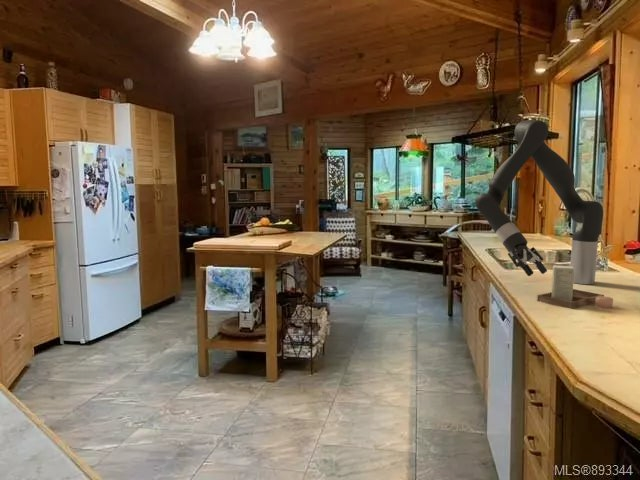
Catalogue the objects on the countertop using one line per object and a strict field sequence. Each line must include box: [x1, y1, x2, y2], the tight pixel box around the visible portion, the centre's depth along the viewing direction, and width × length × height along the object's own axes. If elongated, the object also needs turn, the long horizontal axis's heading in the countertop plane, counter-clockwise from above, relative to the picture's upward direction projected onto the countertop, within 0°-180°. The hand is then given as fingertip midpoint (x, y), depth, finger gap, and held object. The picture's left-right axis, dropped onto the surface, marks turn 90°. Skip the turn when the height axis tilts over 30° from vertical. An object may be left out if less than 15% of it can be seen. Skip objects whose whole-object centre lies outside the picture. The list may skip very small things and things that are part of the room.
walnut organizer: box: [536, 288, 605, 310], centre depth 171 cm, size 21×12×2 cm, turn 125°
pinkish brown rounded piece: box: [594, 295, 614, 309], centre depth 164 cm, size 5×5×3 cm
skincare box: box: [551, 264, 574, 302], centre depth 167 cm, size 6×4×12 cm
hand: (538, 273), depth 175 cm, fingers open, 8 cm apart
